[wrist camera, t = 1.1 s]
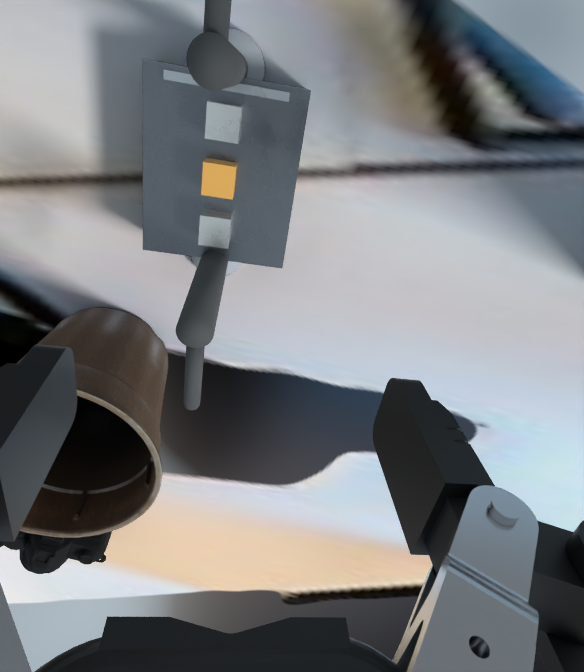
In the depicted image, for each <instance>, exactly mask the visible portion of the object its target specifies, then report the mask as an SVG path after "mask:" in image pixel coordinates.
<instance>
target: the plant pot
mask: <svg viewBox="0 0 584 672" xmlns="http://www.w3.org/2000/svg"><path fill="white" fill-rule="evenodd" d="M38 344H39V345H50V346H60V347H70V348H71V349H72V351H73V355H74V366H75V378H76V390H77V409H76V414H75V418H74V421H73V424H72V426H71V428H70V430H69V432H68V434H67V436H66V438H65V440H64V442H63V444H62V446H61V448H60V450H59V452H58V454H57V456H56V458H55V460H54V462H53V464H52V466H51V468H50V470H49V472H48V474H47V476H46V478H45V480H44V483H43V485H42V487H41V489H40V491H39V493H38V495H37V497H36V499H35V501H34V503H33V505H32V507H31V509H30V511H29V513H28V515H27V517H26V519H25V521H24V523H23V525H22V527H21V529H20V531H23V532H27V533H32V534H39V535H46V536H52V537H86V536H93V535H99V534H103V533H107V532H110V531H113V530H116V529H119V528H121V527H123V526H126V525H127V524H129V523H131V522H132V521H134V520H136V519H137V518H139V517H140V516H141V515H142V514H144V513H145V512H146V511H147V510H148V509H149V507H150V506H151V505H152V504H153V502H154V501H155V499H156V497H157V495H158V492H159V490H160V486H161V481H162V463H161V458H160V455H159V452H160V446H161V435H160V429H159V425H160V418H161V410H162V403H163V396H164V390H165V383H166V376H167V370H168V355H167V350H166V348H165V345H164V343H163V341H162V340H160V339H159V338H158V337H157V335H156V334H155V333H154V331H153V330H152V328H151V327H150V326H149V325H148V324H147V323H146V322H144V321H143V320H141V319H140V318H138V317H136V316H134V315H132V314H129V313H127V312H124V311H120V310H116V309H111V308H99V307H98V308H88V309H83V310H80V311H78V312H76V313H74V314H72V315H70V316H68V317H66V318H65V319H64V320H62V321H61V322H60V323H59V324H58V325H57V326H56V327H55V328H54V329H53V330H52V331H51V332H50V333H49V334H48V335H46V336H45V337H44V338H43V339H42V340H41V341H40V342H39V343H38ZM26 355H27V354H26ZM26 355H25V356H26ZM25 356H24V357H25ZM24 357H23V358H22V359H21V360H19V361H18V362H17V363H16V364H20V362H21V361H22V360H23V359H24Z"/></svg>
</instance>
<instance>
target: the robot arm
mask: <svg viewBox="0 0 584 672" xmlns="http://www.w3.org/2000/svg"><path fill="white" fill-rule="evenodd" d="M76 409H77V390H76V378H75V366H74V355H73V351H72V349H71V348H70V347H60V346H50V345H39V344H36V345H34V346H33V347H32V348H31V350H30V351H29V352H28V353H27V355H26V356H25V357H24V359H23V360H22V361H21V362H20V364H13V363H7V364H6V365H4V366H2V367H0V541H2V542H14V541H15V539H16V537H17V535H18V533H19V531H20V529H21V527H22V525H23V523H24V521H25V519H26V517H27V515H28V513H29V511H30V509H31V507H32V505H33V503H34V501H35V499H36V497H37V495H38V493H39V491H40V489H41V487H42V485H43V483H44V480H45V478H46V476H47V474H48V472H49V470H50V468H51V466H52V464H53V462H54V460H55V458H56V456H57V454H58V452H59V450H60V448H61V446H62V444H63V442H64V440H65V438H66V436H67V434H68V432H69V430H70V428H71V426H72V424H73V421H74V418H75V414H76ZM373 442H374V446H375V449H376V452H377V455H378V458H379V461H380V464H381V467H382V470H383V473H384V476H385V479H386V482H387V485H388V488H389V491H390V494H391V497H392V500H393V503H394V506H395V509H396V512H397V515H398V518H399V521H400V524H401V527H402V530H403V533H404V536H405V538H406V541H407V544H408V547H409V550H410V553H411V554H413V555H429V556H430V559H431V561H432V566H431V568H430V570H429V572H428V574H427V577H426V579H425V582H424V585H423V587H422V590H421V592H420V595H419V597H418V600H417V603H416V605H415V608H414V610H413V613H412V616H411V618H410V621H409V624H408V626H407V628H406V631H405V634H404V636H403V639H402V641H401V643H400V646H399V648H398V650H397V652H396V654H395V656H394V659H393V661H392V660H390V659H389V658H388V657H386V656H385V655H384V654H383V653H381V652H379V651H377V650H376V649H374V648H372V647H371V646H369V645H367V644H365V643H362V642H360V641H358V640H356V639H353V638H350V637H349V633H348V628H347V622H346V618H313V617H312V618H311V617H310V618H309V617H306V618H305V617H301V618H300V617H298V618H297V617H296V618H295V617H293V618H292V617H290V618H287V619H284V620H280V621H277V622H273V623H270V624H266V625H263V626H259V627H256V628H252V629H249V630H245V631H242V632H239V633H234V634H228V633H223V632H220V631H217V630H213V629H210V628H206V627H203V626H199V625H195V624H192V623H189V622H185V621H182V620H178V619H175V618H171V617H107V620H106V624H105V627H104V632H103V635H102V637H101V638H98V639H94V640H91V641H88V642H86V643H83V644H81V645H78V646H76V647H73V648H72V649H70V650H68V651H66V652H64V653H62V654H60V655H58V656H57V657H55V658H54V659H52V660H51V661H49V662H48V663H46V664H44V665H43V666H42V667H40V668H39V669H38V670H36V671H35V672H533V665H534V657H535V648H537V651H538V653H539V655H540V657H541V659H542V661H543V664H544V666H545V668H546V670H547V672H584V521H582V522H581V523H580V525H579V526H578V527H577V529H576V530H575V531H574V532H571V531H567V530H564V529H561V528H558V527H555V526H552V525H549V524H546V523H542V522H539V521H537V519H536V517H535V515H534V514H533V512H532V511H531V510H530V508H529V507H528V506H527V505H526V504H525V503H524V502H523V501H522V500H520V499H519V498H518V497H516V496H515V495H513V494H512V493H510V492H508V491H506V490H504V489H501V488H498V487H495V485H494V484H493V482H492V480H491V479H490V477H489V475H488V474H487V472H486V470H485V469H484V467H483V465H482V464H481V462H480V460H479V458H478V457H477V455H476V453H475V452H474V450H473V448H472V447H471V445H470V444H468V440H467V438H466V437H465V435H464V433H463V432H461V428H460V426H459V425H458V423H457V422H456V420H455V418H454V416H453V415H452V413H450V412H449V411H448V410H447V409H446V408H445V407H444V406H443V405H442V404H440V403H439V402H438V401H435V400H431V398H430V397H429V395H428V393H427V391H426V389H425V388H424V386H423V384H422V383H421V382H420V381H419V380H408V379H397V378H391V379H390V380H389V381H388V383H387V386H386V389H385V392H384V395H383V398H382V401H381V404H380V407H379V409H378V412H377V415H376V418H375V422H374V426H373ZM0 672H31V668H30V666H29V663H28V660H27V657H26V654H25V652H24V649H23V646H22V643H21V640H20V638H19V635H18V632H17V629H16V626H15V623H14V620H13V618H12V615H11V612H10V609H9V606H8V603H7V601H6V598H5V595H4V592H3V589H2V587H1V584H0Z"/></svg>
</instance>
